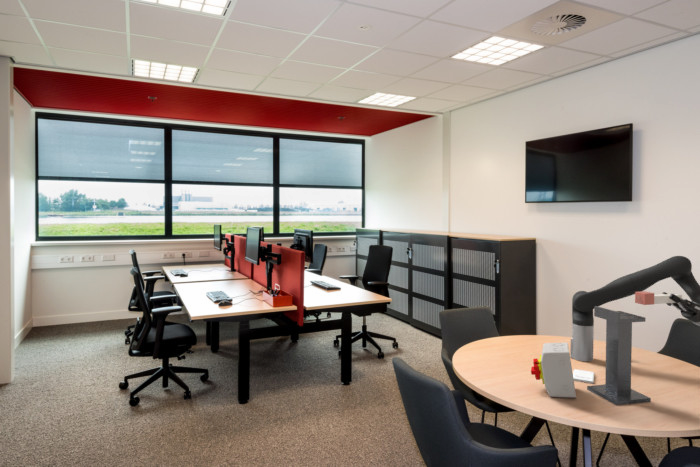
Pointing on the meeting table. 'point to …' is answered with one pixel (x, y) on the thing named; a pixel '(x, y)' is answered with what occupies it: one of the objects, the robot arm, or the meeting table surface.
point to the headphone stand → (618, 358)
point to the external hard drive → (583, 376)
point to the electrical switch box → (555, 370)
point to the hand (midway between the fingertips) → (666, 295)
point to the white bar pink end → (653, 298)
